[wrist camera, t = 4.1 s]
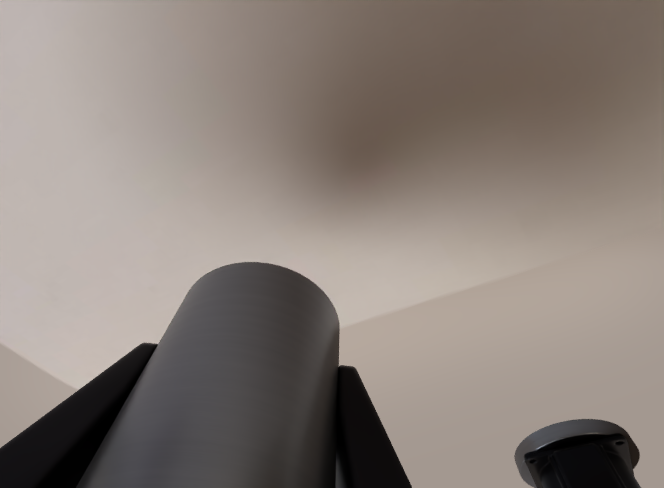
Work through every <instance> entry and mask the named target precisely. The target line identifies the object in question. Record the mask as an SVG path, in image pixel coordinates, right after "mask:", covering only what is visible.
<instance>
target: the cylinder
mask: <svg viewBox="0 0 664 488" xmlns="http://www.w3.org/2000/svg"><path fill="white" fill-rule="evenodd" d="M338 368H339V320H338V315H337V313H336V310H335V308H334V306H333V304H332V302H331V301H330V299H329V298H328V297H327V295H326V294H325V293H324V292H323V291H322V290H321V289H320V288H319V287H318V286H317V285H316V284H315V283H313V282H312V281H311V280H309V279H308V278H306V277H305V276H303V275H301V274H299V273H297V272H295V271H293V270H290V269H288V268H285V267H282V266H278V265H273V264H269V263H260V262H242V263H234V264H230V265H226V266H223V267H220V268H217V269H215V270H213V271H211V272H209V273H207V274H205V275H204V276H203V277H201V278H200V279H199V280H198V281H197V282H196V283H195V284H194V285H193V286H192V287H191V289H190V290H189V292H188V293H187V295H186V297H185V299H184V300H183V302H182V304H181V305H180V307H179V309H178V311H177V312H176V314H175V316H174V318H173V319H172V321H171V323H170V325H169V326H168V328H167V330H166V332H165V333H164V335H163V337H162V339H161V340H160V342H159V344H158V346H157V347H156V349H155V351H154V353H153V354H152V356H151V358H150V360H149V361H148V363H147V365H146V367H145V368H144V370H143V372H142V373H141V375H140V377H139V379H138V380H137V382H136V384H135V386H134V387H133V389H132V391H131V393H130V394H129V396H128V398H127V400H126V401H125V403H124V405H123V407H122V408H121V410H120V412H119V414H118V415H117V417H116V419H115V421H114V422H113V424H112V426H111V428H110V429H109V431H108V433H107V434H106V436H105V438H104V440H103V441H102V443H101V445H100V447H99V448H98V450H97V452H96V454H95V455H94V457H93V459H92V461H91V462H90V464H89V466H88V468H87V469H86V471H85V473H84V475H83V476H82V478H81V480H80V482H79V483H78V485H77V487H76V488H336V451H337V399H338Z"/></svg>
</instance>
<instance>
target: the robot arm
mask: <svg viewBox="0 0 664 488" xmlns="http://www.w3.org/2000/svg"><path fill="white" fill-rule="evenodd" d="M157 346H158V344H152V343H142V344H140V345H139V346H137V347H136V348H135V349H133V350H132V351H131V352H129V353H128V354H127V355H125V356H124V357H123V358H121V359H120V360H119V361H117V362H116V363H115V364H113V365H112V366H110V367H109V368H108V369H106V370H105V371H104V372H102V373H101V374H100V375H98V376H97V377H96V378H94V379H93V380H92V381H90V382H89V383H88V384H86V385H85V386H84V387H82V388H81V389H79V390H78V391H77V392H75V393H74V394H73V395H71V396H70V397H69V398H67V399H66V400H65V401H63V402H62V403H61V404H59V405H58V406H57V407H55V408H54V409H52V410H51V411H50V412H49V413H47V414H46V415H45V416H43V417H42V418H41V419H39V420H38V421H36V422H35V423H34V424H32V425H31V426H30V427H28V428H27V429H26V430H24V431H23V432H21V433H20V434H19V435H17V436H16V437H15V438H13V439H12V440H11V441H9V442H8V443H7V444H5V445H4V446H3V447H1V448H0V488H76V487H77V485H78V483H79V482H80V480H81V478H82V476H83V475H84V473H85V471H86V469H87V468H88V466H89V464H90V462H91V461H92V459H93V457H94V455H95V454H96V452H97V450H98V448H99V447H100V445H101V443H102V441H103V440H104V438H105V436H106V434H107V433H108V431H109V429H110V428H111V426H112V424H113V422H114V421H115V419H116V417H117V415H118V414H119V412H120V410H121V408H122V407H123V405H124V403H125V401H126V400H127V398H128V396H129V394H130V393H131V391H132V389H133V387H134V386H135V384H136V382H137V380H138V379H139V377H140V375H141V373H142V372H143V370H144V368H145V367H146V365H147V363H148V361H149V360H150V358H151V356H152V354H153V353H154V351H155V349H156V347H157ZM524 459H525V462H526V464H527V466H528V468H529V471H530V473H531V475H532V477H533V479H534V481H535V484H536V486H537V488H641V487H640V486H639V484H638V482H637V481H636V479H635V477H634V473H633V468H632V462H631V457H630V452H629V447H628V441H627V440H626V438H625V437H624V435H623V434H621V433H615V434H610V435H605V436H601V437H596V438H592V439H587V440H582V441H578V442H573V443H569V444H564V445H559V446H555V447H550V448H546V449H541V450H536V451H532V452H528V453H526V454H524ZM336 488H412V486H411V484H410V482H409V480H408V478H407V476H406V474H405V472H404V469H403V467H402V465H401V463H400V461H399V459H398V457H397V455H396V452H395V450H394V448H393V446H392V444H391V442H390V440H389V438H388V436H387V433H386V431H385V429H384V427H383V425H382V423H381V421H380V419H379V416H378V414H377V412H376V410H375V408H374V406H373V404H372V402H371V400H370V397H369V395H368V393H367V391H366V389H365V387H364V385H363V383H362V380H361V378H360V376H359V374H358V372H357V370H356V369H355V368H354V367H352V366H344V365H341V366H339V368H338V399H337V451H336Z"/></svg>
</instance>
